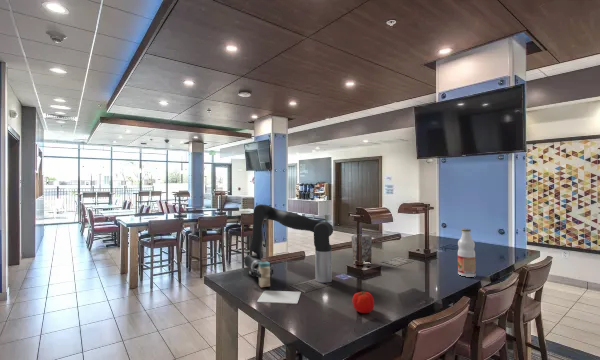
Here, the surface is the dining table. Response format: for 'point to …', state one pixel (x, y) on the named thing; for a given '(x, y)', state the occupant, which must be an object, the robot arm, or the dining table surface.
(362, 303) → the tomato
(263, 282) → the beige tall box
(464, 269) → the fruit juice
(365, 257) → the stone block
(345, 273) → the dining table surface
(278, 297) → the grey mat
